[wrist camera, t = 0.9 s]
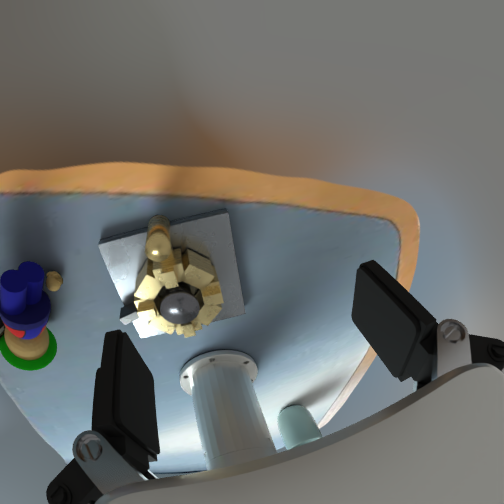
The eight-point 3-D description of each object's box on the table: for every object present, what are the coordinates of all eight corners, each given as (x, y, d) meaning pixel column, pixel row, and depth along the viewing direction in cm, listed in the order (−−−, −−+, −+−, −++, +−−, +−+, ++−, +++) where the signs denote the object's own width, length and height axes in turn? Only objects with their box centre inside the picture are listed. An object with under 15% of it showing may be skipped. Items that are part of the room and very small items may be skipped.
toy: (-39, 264, 17) (-16, 357, 22) (-13, 315, 15) (16, 404, 21) (40, 238, 28) (41, 325, 33) (78, 275, 26) (76, 362, 32)
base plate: (243, 307, 37) (254, 337, 32) (137, 332, 35) (136, 364, 30) (226, 208, 30) (237, 231, 25) (95, 241, 27) (83, 269, 23)
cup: (312, 399, 57) (329, 434, 49) (295, 416, 60) (310, 450, 51) (283, 401, 54) (299, 440, 45) (267, 419, 57) (281, 455, 48)
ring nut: (223, 305, 34) (232, 335, 30) (152, 322, 33) (153, 353, 28) (201, 204, 27) (207, 225, 23) (113, 226, 26) (104, 251, 22)
